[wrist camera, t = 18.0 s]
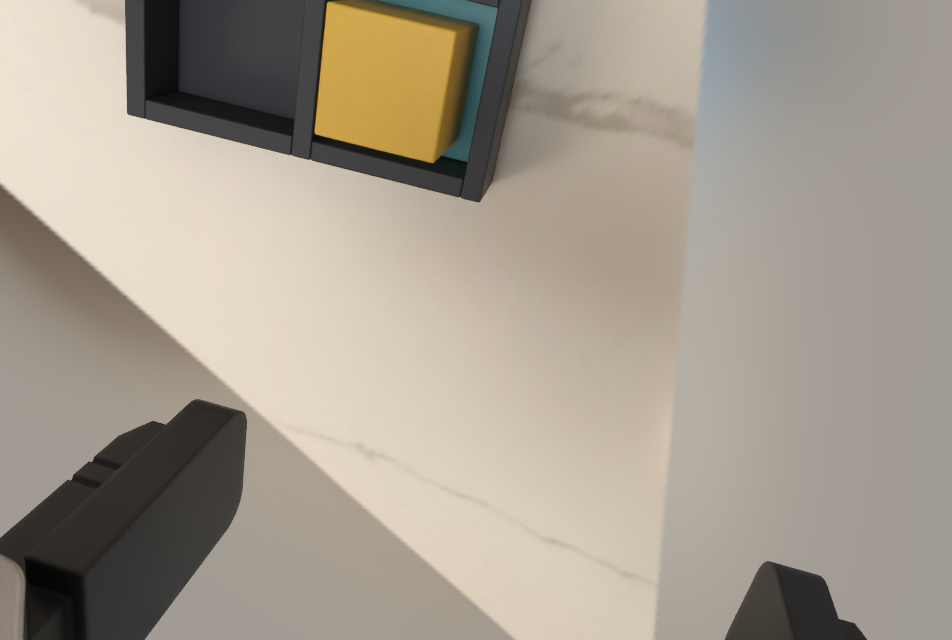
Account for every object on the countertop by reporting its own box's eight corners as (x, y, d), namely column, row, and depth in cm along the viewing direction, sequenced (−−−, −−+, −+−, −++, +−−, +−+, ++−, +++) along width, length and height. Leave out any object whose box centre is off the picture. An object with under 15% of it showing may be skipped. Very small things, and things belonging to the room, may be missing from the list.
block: (480, 23, 28) (457, 31, 24) (458, 139, 30) (433, 164, 26) (367, -3, 28) (326, 0, 24) (353, 114, 30) (313, 134, 26)
